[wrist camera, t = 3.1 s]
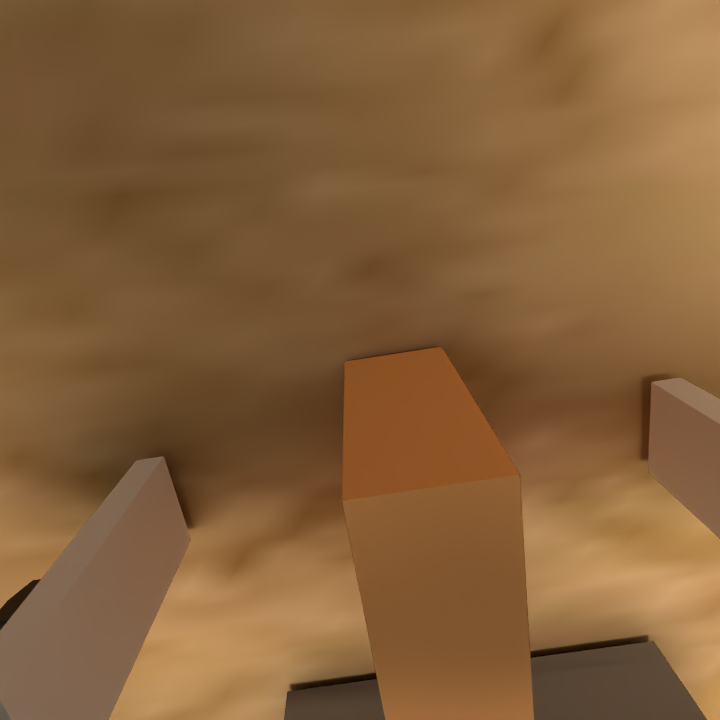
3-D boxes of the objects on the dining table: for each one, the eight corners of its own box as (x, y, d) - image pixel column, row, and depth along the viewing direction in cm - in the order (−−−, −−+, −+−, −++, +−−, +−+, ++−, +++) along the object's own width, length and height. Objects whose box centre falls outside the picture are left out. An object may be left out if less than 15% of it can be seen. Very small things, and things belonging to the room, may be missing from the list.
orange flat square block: (344, 361, 13) (342, 501, 7) (441, 346, 12) (519, 474, 7) (378, 550, 14) (397, 782, 9) (462, 539, 14) (536, 763, 9)
